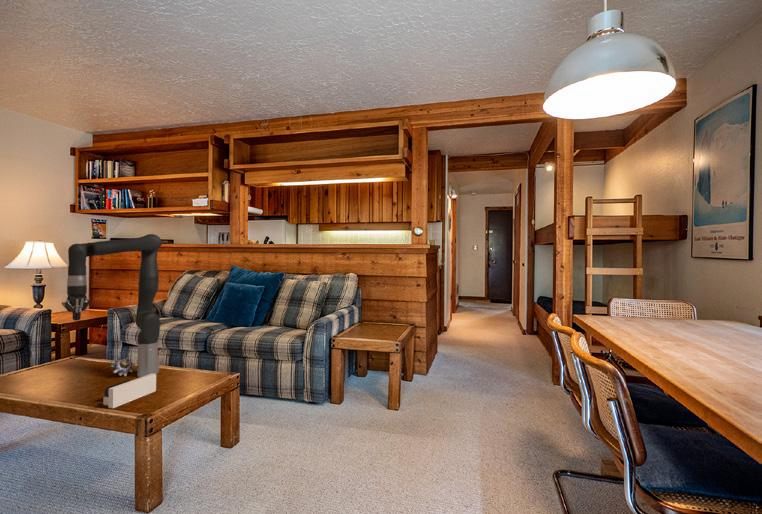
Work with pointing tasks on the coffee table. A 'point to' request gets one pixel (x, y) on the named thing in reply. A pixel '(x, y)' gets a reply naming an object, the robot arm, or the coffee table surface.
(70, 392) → the coffee table surface
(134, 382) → the white board with feet
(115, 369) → the passion flower
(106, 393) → the end cap
